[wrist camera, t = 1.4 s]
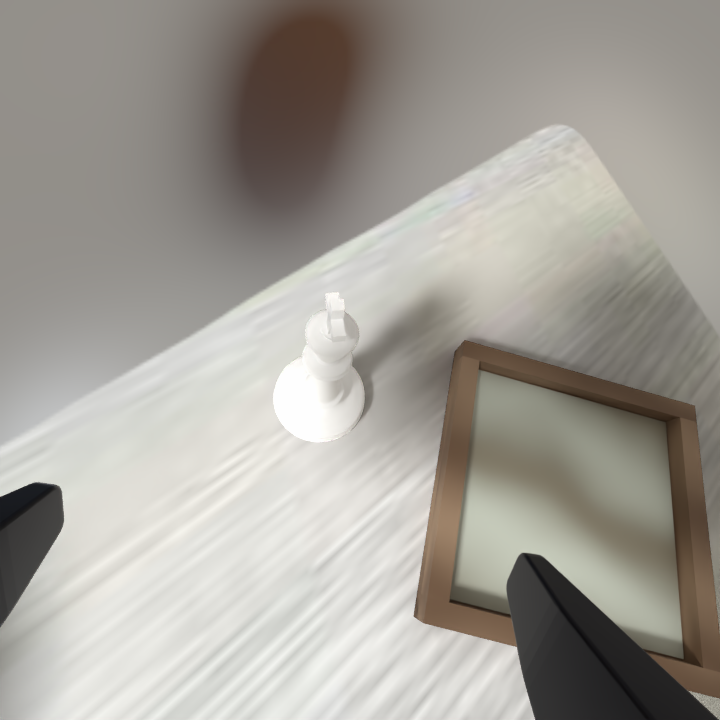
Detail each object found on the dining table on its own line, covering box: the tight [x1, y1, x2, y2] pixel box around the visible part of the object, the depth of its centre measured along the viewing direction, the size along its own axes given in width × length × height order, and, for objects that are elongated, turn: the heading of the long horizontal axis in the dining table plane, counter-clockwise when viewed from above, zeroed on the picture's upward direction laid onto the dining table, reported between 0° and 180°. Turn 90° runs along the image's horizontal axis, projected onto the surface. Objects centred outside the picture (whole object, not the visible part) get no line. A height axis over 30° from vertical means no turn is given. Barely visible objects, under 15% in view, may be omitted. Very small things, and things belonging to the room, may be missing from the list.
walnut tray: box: [414, 340, 720, 698], centre depth 22 cm, size 14×14×2 cm
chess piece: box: [274, 292, 365, 442], centre depth 18 cm, size 5×5×10 cm
